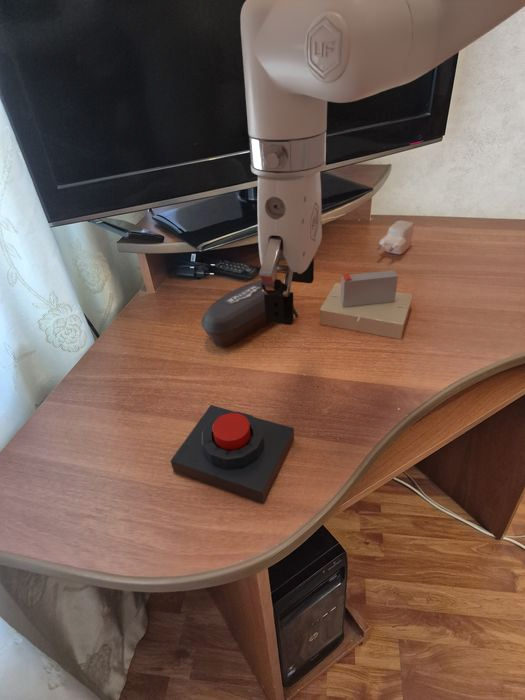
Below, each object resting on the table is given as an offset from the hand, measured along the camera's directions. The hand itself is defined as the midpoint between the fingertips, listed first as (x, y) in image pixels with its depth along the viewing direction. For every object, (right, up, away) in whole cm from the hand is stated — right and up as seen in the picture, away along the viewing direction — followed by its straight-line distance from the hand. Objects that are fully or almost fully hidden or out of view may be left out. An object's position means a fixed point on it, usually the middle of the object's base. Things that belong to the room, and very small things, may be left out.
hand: (291, 300), depth 54 cm
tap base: (+15, 0, +24) cm, 28 cm away
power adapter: (+25, +15, +43) cm, 52 cm away
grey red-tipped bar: (+15, +2, +22) cm, 27 cm away
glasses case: (-6, -2, +23) cm, 24 cm away
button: (-7, -16, -1) cm, 18 cm away
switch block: (-7, -19, +1) cm, 21 cm away
